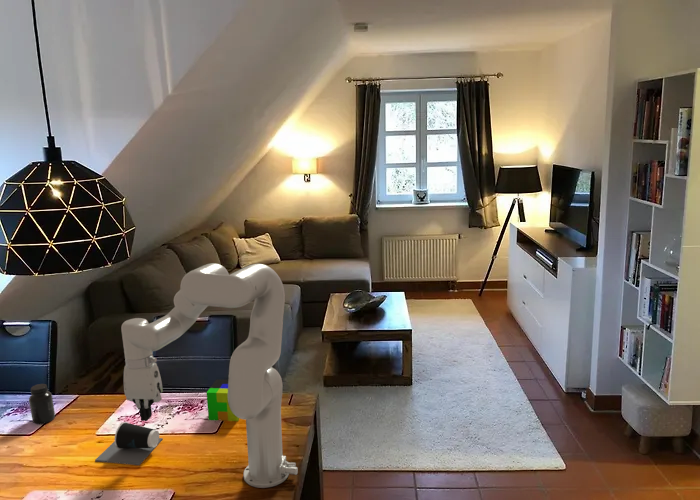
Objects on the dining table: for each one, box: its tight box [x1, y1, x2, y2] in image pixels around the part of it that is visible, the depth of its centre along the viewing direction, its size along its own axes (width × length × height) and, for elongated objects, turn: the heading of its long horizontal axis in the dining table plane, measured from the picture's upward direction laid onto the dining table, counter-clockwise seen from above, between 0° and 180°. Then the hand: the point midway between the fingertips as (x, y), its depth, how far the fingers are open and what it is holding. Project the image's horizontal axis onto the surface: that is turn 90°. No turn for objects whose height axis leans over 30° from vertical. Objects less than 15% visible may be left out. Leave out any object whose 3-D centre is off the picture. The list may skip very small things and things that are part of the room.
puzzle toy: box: [206, 378, 240, 422], centre depth 197 cm, size 10×10×10 cm
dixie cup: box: [114, 421, 160, 449], centre depth 175 cm, size 8×8×11 cm
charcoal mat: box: [95, 437, 164, 466], centre depth 176 cm, size 14×14×1 cm
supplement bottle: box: [28, 383, 56, 425], centre depth 194 cm, size 7×7×12 cm
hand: (146, 418), depth 173 cm, fingers closed
